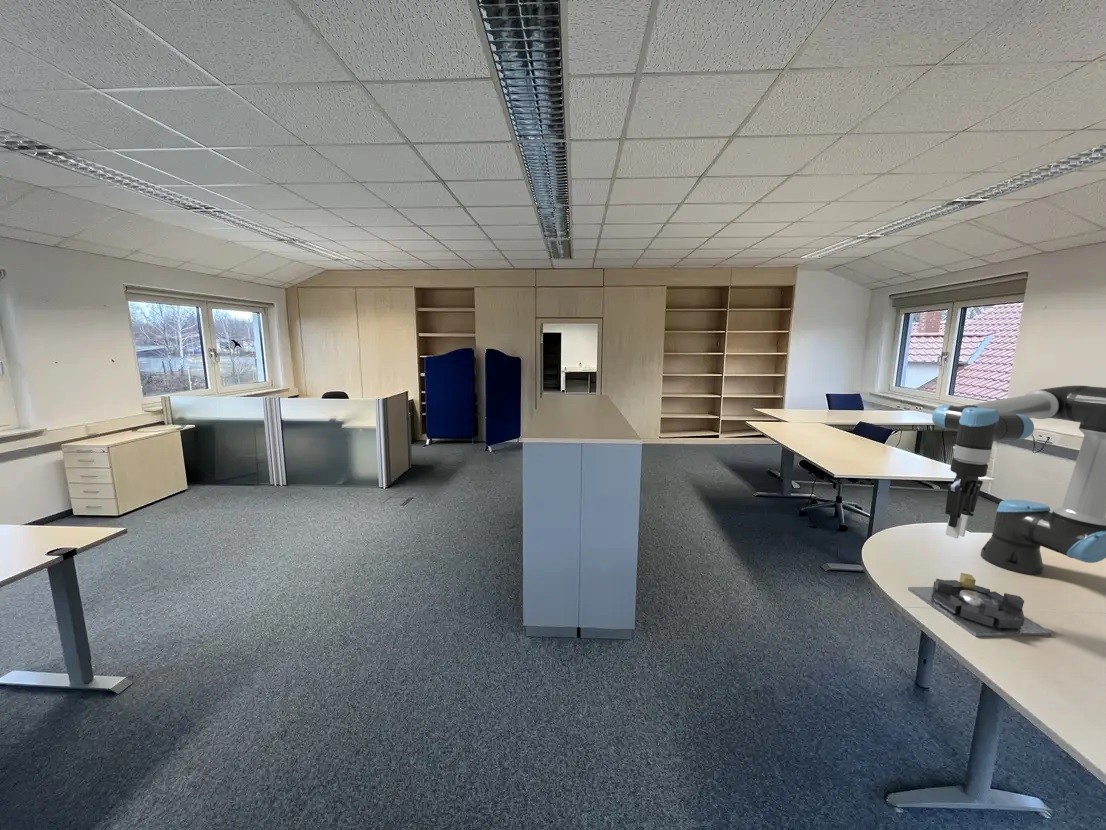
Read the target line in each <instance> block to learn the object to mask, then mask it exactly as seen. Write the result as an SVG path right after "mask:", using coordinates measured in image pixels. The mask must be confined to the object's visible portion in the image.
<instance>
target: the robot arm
mask: <svg viewBox="0 0 1106 830" xmlns="http://www.w3.org/2000/svg"><path fill="white" fill-rule="evenodd" d="M931 419H932V423H933V424H934V425H935V426H936V427H939V428H943V429H945V430H951V431H956V432H957V433H956V434H957V435H956V441H955V444H954V446H952V449H953V450H954V451H953V455H952V457H953V459H951V462H950V463H951V464H950V469H949V470H950V471H951V472H953V473H954V474H955V478H954V479H953V482H952V483H950V482H949V483H947V496H946V502H945V503H946V504H945V512H944V513H945V515H947V516H948V521H947V525H946V531H945V536H949V537H951V538H953V539H959V537H965V534H966V529H967V526H968V521H969V517H973V516H974V515H975V513H974V512H975V509H976V506H977V505H976V504H977V502H978V499H979V494H980V490H981V487H982V486H983V484H984V481H983V480H980V479H979V478H984V477H986V476H987V473H988V469H989V464H988V463H990V461H991V460H990V459H991V454H992V450H993V444H994V441H997V442H998V441H1017V440H1024V439H1027V438H1029V437H1031V435H1032V434H1033V432H1034V430H1035V425H1034V422H1033V420H1032V419H1035V420H1036V419H1037V420H1045V419H1054V420H1062V421H1069V422H1074V423H1079V427H1078V430H1079V431H1080V432H1081V433H1082V434H1083V435H1084V436H1083V439H1082V442H1081V445H1080V448H1079V452H1078V455H1077V458H1076V461H1075V464H1074V467H1073V469H1072V473H1071V477H1070V480H1069V482H1068V485H1067V489H1066V493H1065V496H1064V499H1063V501H1062V505H1061V506H1060V507H1057V508H1054V509H1053V510H1052V512H1051V507H1050V506H1049V505H1048V504H1044V503H1040V502H1036V501H1030V500H1023V499H1022V500H1021V499H1004V500H1001V501H1000V502H999V504H998V507H997V509H996V515H995V519H994V523H993V529H992V534H991V537H990V538H989V539H988V541H987V542H986V543H985V544H984V546H983V547H981V551H980V557H981V558H982V559H984V561H986V562H988V563H990V564H992V565H994V566H997V567H999V568H1002V569H1006V570H1008V571H1011V572H1016V573H1020V574H1026V575H1040V574H1043V570H1044V568H1045V566H1044V563H1043V558H1042V553H1041V547H1043V548H1045V549H1048V550H1051V551H1053V552H1056V553H1059V554H1062V555H1063V556H1066V557H1068V558H1070V559H1075V560H1078V561H1080V562H1083V563H1089V564H1094V563H1099V562H1101V561H1103V560H1105V559H1106V387H1102V386H1101V387H1100V386H1090V385H1089V386H1088V385H1064V386H1063V385H1062V386H1056V387H1048V388H1043V389H1036V390H1032V391H1029V392H1027V393H1026V394H1024V395H1021V396H1020V395H1019V396H1014V397H1008V398H1001V399H996V400H991V401H984V402H979V403H973V404H968V405H967V404H966V405H960V406H959V405H958V406H955V405H951V404H950V405H947V404H942V405H939V406H938V407H936V408H935V409H934V410H933V413H932V417H931Z"/></svg>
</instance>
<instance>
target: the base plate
mask: <svg viewBox="0 0 1106 830" xmlns="http://www.w3.org/2000/svg"><path fill="white" fill-rule="evenodd" d="M907 591H909V592H911V594H914V595H915V596H916V597H918V598H919V599H920V600H922V601H923V602H925V603H926V604H927V605H930V606H931V607H932V608H933V609H935V610H936V611H938V612H939V613H941V614H942V615H943V616H945V617H946V618H948V619H950V621H952V622H953V623H955V624H956V625H958V626H959V627H961V628H962V629H964V630H965V631H966V632H968V633H969V634H971V635H972V636H974V637H975V638H979V637H980V638H981V637H982V638H984V637H987V638H988V637H993V638H994V637H1048V636H1049V637H1050V636H1052V632H1051V631H1050V630H1048V629H1046V628H1044V627H1042V626H1041V625H1039V624H1037V623H1036V622H1035V621H1033V620H1031V619H1029V618H1028V617H1026V616H1024V618H1025V619H1024V623H1023V626H1021V628H997V627H996V626H994V625H993V626H992V627H991V626H988V625H985V624H982V623H979V622H976V621H973V620H970V619H967V618H964V617H961V616H960V614H954V613H953V612H951V611H950V610H949V609H947V608H946V607H944V606H943V605H941V604H940V603H938V602H937V601H935V600H934V598H932V592H933V586H908V588H907ZM951 595H952V596H954V597H955V598H957V599H959V600H960V601H962V602H963V603H965V604H967V605H971V606H974V607H977V608H979V606H980V602H981V599H983V600H988V601H992V602H993V600H992V599H990V598H989V597H987V596H985V595H983V594H980V593H978V592H974V591H970V590H961V591H960V594H951ZM997 611H1001V610H1000V609H998V610H997Z"/></svg>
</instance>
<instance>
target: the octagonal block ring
mask: <svg viewBox="0 0 1106 830" xmlns="http://www.w3.org/2000/svg"><path fill="white" fill-rule="evenodd" d="M976 581H977V580H976V579H975V577H974V576H973V575H972V574H969V573H964V572H960V577H959V581H958V580H957V579H940V578H935V581H933V586H932V587H933V592H932V598H934V600H935V601H937V602H938V603H940V604H941V605H943V606H944V607H946V608H947V609H949V610H950V611H951V612H953V613H954V614H960V616H961V617H964V618H967V619H970V620H973V621H976V622H979V623H982V624H985V625H988V626H991V627H992V626H993V625H994V626H996V627H997V628H1021V626H1023V623H1024V619H1025V618H1024V617H1025V616H1024V611H1023V606H1024V603H1025V599H1023V598H1022V596H1020V595H1016V594H1011V593H1006V592H1003V595H1002V594H1000V593H999V592H997V591H991V589H990V588H987V587H983V586H981V585H976ZM961 590H970V591H974V592H978V593H980V594H983V595H985V596H987V597H989V598H990V599H992V600H993V602H992V601H988V600H983V599H981V602H980V606H979V608H977V607H974V606H971V605H967V604H965V603H963V602H962V601H960V600H959V599H957V598H955V597H954V596H952V595H951V594H960V591H961ZM998 609H1000V610H1001V611H997V610H998Z"/></svg>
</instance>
